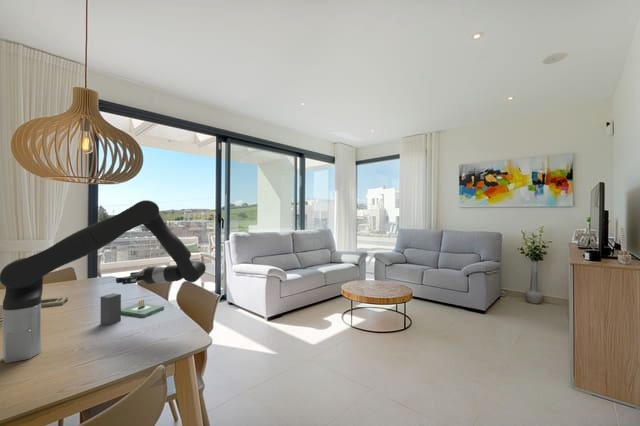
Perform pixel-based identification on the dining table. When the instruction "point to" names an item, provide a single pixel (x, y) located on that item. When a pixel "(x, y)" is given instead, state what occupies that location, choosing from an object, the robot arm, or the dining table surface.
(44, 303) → the computer
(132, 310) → the board
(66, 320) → the dining table surface
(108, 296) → the block
